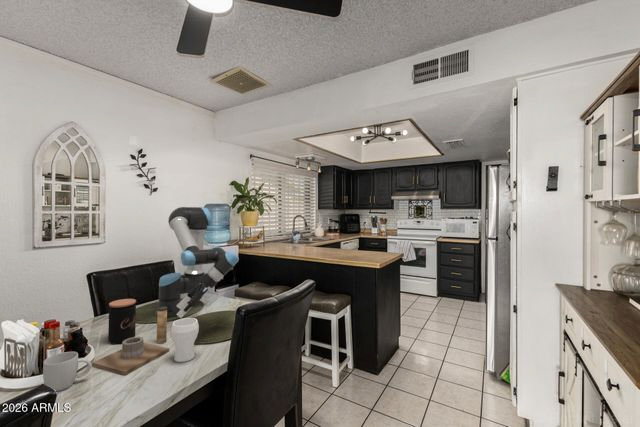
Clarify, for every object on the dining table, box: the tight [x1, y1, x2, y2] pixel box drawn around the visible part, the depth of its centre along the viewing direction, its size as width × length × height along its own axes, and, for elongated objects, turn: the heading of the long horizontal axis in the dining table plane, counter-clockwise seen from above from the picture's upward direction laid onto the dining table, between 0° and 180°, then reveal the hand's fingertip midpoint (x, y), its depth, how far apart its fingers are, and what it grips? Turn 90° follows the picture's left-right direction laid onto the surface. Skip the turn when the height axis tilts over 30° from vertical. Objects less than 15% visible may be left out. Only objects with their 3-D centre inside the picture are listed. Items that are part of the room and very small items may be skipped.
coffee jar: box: [107, 298, 137, 345], centre depth 136 cm, size 11×11×18 cm
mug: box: [42, 351, 92, 392], centre depth 100 cm, size 13×9×10 cm
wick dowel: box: [156, 307, 168, 345], centre depth 135 cm, size 4×4×16 cm
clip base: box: [91, 336, 170, 376], centre depth 119 cm, size 20×18×8 cm
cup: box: [170, 317, 200, 363], centre depth 121 cm, size 11×11×15 cm
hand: (178, 311), depth 137 cm, fingers open, 13 cm apart
